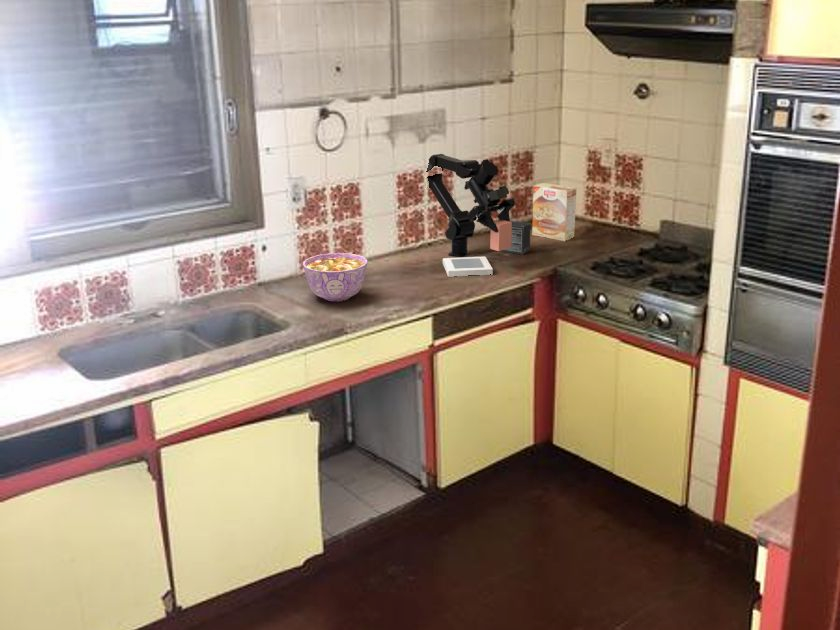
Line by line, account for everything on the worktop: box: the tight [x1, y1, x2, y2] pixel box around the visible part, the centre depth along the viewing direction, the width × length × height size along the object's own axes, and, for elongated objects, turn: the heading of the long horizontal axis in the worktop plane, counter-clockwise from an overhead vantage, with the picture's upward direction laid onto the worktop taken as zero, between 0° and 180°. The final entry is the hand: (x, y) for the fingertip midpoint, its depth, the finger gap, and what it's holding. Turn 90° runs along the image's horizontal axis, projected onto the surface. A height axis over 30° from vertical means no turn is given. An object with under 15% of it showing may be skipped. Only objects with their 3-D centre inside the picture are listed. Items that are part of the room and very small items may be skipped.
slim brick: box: [489, 220, 512, 252], centre depth 313 cm, size 6×4×9 cm, turn 131°
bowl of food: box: [302, 252, 368, 302], centre depth 288 cm, size 20×20×12 cm
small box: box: [500, 220, 532, 256], centre depth 334 cm, size 11×6×10 cm, turn 58°
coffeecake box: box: [531, 182, 577, 242], centre depth 350 cm, size 15×7×20 cm, turn 50°
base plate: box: [442, 256, 494, 278], centre depth 315 cm, size 15×15×2 cm
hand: (503, 230), depth 311 cm, fingers closed on slim brick, 6 cm apart
